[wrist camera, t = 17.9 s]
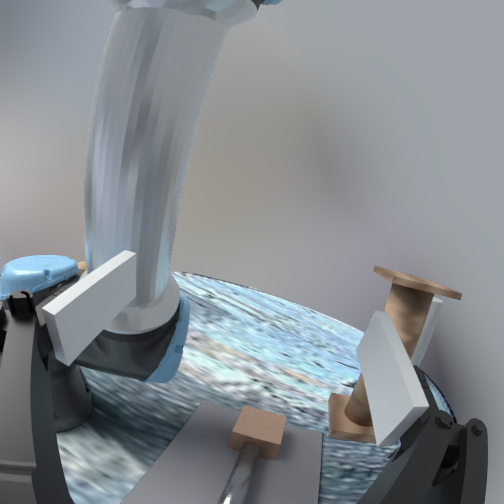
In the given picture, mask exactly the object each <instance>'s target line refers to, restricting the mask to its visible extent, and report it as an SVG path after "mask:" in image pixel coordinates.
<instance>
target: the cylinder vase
mask: <svg viewBox="0 0 504 504" xmlns="http://www.w3.org/2000/svg"><path fill="white" fill-rule="evenodd" d="M442 304H443V302H442V301H441V300H440V299H438V298H435V297H433V300H432V303H431V306H430V309H429V313H428V316H427V319H426V321H425V324H424V327H423V330H422V333H421V335H420V338H419V341H418V343H417V346H416V348H415V351H414V353H413V355H412V358H411V360H410V361H411V363H412V365H417V366H418V367H419V365H420V363H421V360H422V358H423V356H424V353H425V351H426V349H427V346H428V343H429V341H430V338H431V336H432V333H433V330H434V328H435V325H436V322H437V319H438V316H439V313H440V310H441V307H442Z"/></svg>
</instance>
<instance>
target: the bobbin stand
mask: <svg viewBox="0 0 504 504" xmlns="http://www.w3.org/2000/svg"><path fill="white" fill-rule="evenodd" d="M374 272H376V273H377V274H379V275H380V276H382V277H384V278H385V279H387V280H388V281H390V282H391V283H392V287H391V290H390V293H389V297H388V300H387V303H386V307H385V310H384V312H386V313H388V315H389V317H390V319H391V321H392V323H393V325H394V327H395V329H396V331H397V333H398V335H399V337H400V339H401V341H402V343H403V346H404V348H405V350H406V352H407V354H408V356H409V359H410V360H411V358H412V355H413V353H414V351H415V348H416V346H417V343H418V341H419V338H420V335H421V333H422V330H423V327H424V324H425V321H426V319H427V316H428V313H429V309H430V306H431V303H432V300H433V297H434V294H438V295H442V296H446V297H450V298H454V299H458V300H461V296H462V294H461V293H459V292H457V291H454V290H452V289H450V288H447V287H445V286H443V285H441V284H438V283H436V282H434V281H431V280H427V279H423V278H420V277H416V276H412V275H408V274H404V273H401V272H396V271H393V270H389V269H385V268H381V267H377V266H375V267H374ZM328 402H329V438H335V439H342V440H350V441H358V442H367V443H376V438H375V433H374V427H373V422H372V417H371V412H370V407H369V402H368V397H367V393H366V388H365V384H364V379H363V375H362V372H361V374H360V377H359V379H358V381H357V383H356V386H355V388H354V390H353V392H352V394H351V396H347V395H341V394H336V393H331V395H330V397H329V400H328Z"/></svg>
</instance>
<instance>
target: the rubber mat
mask: <svg viewBox="0 0 504 504" xmlns="http://www.w3.org/2000/svg"><path fill="white" fill-rule="evenodd" d="M240 414H241V412H239V411H236V410H233V409H230V408H227V407H224V406H221V405H219V404H216V403H213V402H210V401H208V400H205V399H204V400H203V401H202V402H201V404H200V405H199V406H198V408H197V409H196V410H195V412H194V413H193V414H192V416H191V417H190V418H189V420H188V421H187V422H186V424H185V425H184V426H183V427H182V429H181V430H180V431H179V433H178V434H177V435H176V436H175V438H174V439H173V440H172V442H171V443H170V444H169V445H168V447H167V448H166V449H165V450H164V452H163V453H162V454H161V455H160V457H159V458H158V459H157V460H156V461H155V463H154V464H153V465H152V466H151V468H150V469H149V470H148V471H147V472H146V474H145V475H144V476H143V477H142V478H141V480H140V481H139V482H138V483H137V484H136V485H135V487H134V488H133V489H132V490H131V491H130V492H129V494H128V495H127V496H126V497H125V498H124V499H123V500H122V502H121V503H120V504H217V503H218V501H219V499H220V496H221V494H222V492H223V490H224V488H225V485H226V483H227V481H228V479H229V476H230V474H231V472H232V469H233V467H234V465H235V462H236V460H237V458H238V455H239V453H240V451H236V450H233V449H230V448H227V447H228V444H229V441H230V437H231V434H232V431H233V428H234V426H235V424H236V422H237V420H238V418H239V416H240ZM321 451H322V432H319V431H313V430H308V429H304V428H299V427H294V426H290V425H286V424H285V426H284V431H283V435H282V440H281V444H280V447H279V449H278V451H277V453H276V455H275V457H274V459H273V460H269V459H265V458H261V457H260V461H259V464H258V467H257V470H256V473H255V476H254V479H253V482H252V485H251V488H250V491H249V494H248V497H247V499H246V502H245V504H318V495H319V483H320V469H321Z"/></svg>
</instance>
